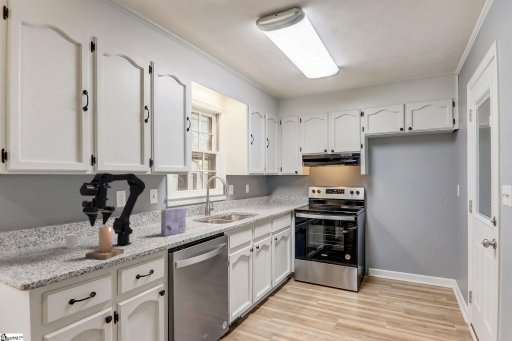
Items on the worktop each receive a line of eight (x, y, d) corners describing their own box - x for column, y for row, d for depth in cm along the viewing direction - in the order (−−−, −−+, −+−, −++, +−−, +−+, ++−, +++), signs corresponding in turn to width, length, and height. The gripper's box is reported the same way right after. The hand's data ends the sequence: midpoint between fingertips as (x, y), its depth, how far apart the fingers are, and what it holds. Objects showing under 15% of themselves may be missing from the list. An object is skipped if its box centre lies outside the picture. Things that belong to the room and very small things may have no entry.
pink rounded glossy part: (99, 250, 146) (100, 226, 146) (112, 249, 148) (113, 225, 148) (97, 253, 140) (97, 228, 140) (111, 252, 142) (111, 227, 142)
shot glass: (65, 249, 156) (65, 236, 156) (64, 246, 162) (64, 234, 162) (79, 247, 160) (79, 234, 160) (78, 245, 166) (78, 232, 166)
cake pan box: (182, 231, 208) (182, 207, 209) (187, 232, 205) (187, 207, 206) (160, 235, 192) (160, 209, 193) (165, 236, 189) (165, 209, 190)
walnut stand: (104, 251, 151) (104, 247, 151) (123, 253, 148) (123, 249, 148) (85, 257, 139) (85, 253, 139) (106, 259, 137) (106, 255, 137)
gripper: (98, 195, 164) (96, 223, 163) (74, 195, 146) (71, 226, 144) (116, 196, 163) (114, 224, 161) (94, 196, 144) (91, 227, 143)
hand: (98, 225), depth 152 cm, fingers open, 9 cm apart
